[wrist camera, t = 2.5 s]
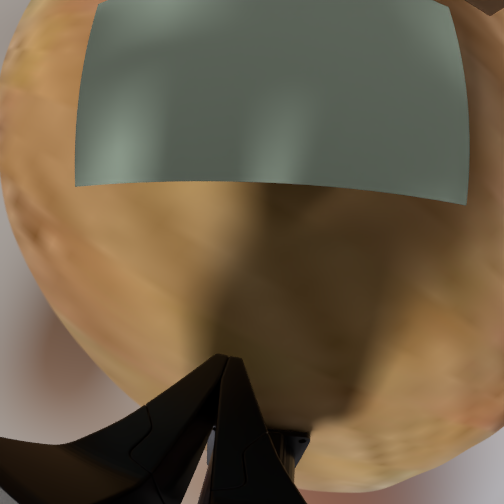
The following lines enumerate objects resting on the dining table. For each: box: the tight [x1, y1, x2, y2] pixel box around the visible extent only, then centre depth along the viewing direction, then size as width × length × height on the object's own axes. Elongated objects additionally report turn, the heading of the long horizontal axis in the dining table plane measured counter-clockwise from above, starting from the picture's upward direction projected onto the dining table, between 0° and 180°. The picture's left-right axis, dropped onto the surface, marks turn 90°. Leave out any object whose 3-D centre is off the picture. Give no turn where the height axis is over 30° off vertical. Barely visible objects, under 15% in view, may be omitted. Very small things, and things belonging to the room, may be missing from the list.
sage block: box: [75, 0, 470, 205], centre depth 8 cm, size 7×12×4 cm, turn 88°
